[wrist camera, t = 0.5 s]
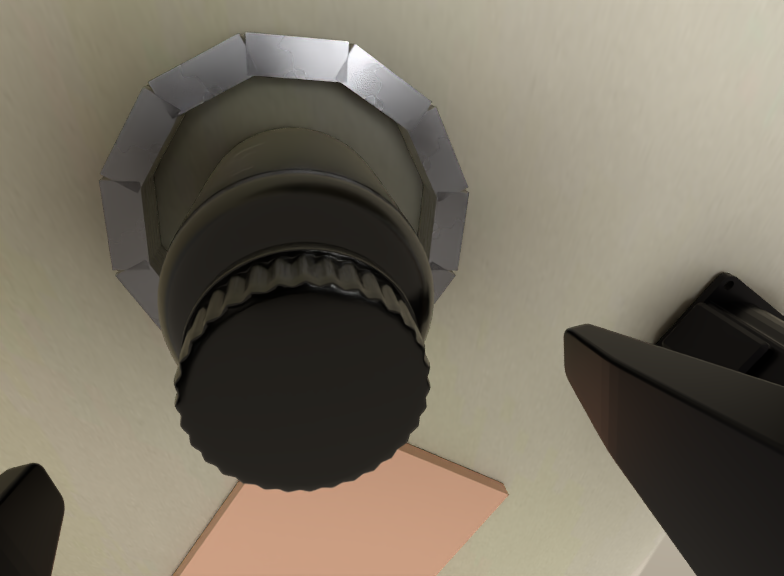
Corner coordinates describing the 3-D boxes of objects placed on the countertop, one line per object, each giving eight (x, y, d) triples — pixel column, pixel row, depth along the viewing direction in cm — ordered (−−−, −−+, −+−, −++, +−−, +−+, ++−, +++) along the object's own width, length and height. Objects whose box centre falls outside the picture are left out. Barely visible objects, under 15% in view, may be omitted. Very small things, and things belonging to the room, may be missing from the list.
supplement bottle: (416, 195, 21) (555, 356, 10) (315, 320, 23) (347, 572, 12) (270, 80, 18) (256, 140, 8) (166, 231, 20) (34, 458, 9)
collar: (509, 164, 21) (529, 175, 19) (343, 390, 24) (349, 418, 23) (223, -51, 16) (216, -62, 15) (64, 266, 20) (42, 289, 18)
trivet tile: (503, 483, 29) (508, 495, 28) (373, 629, 32) (375, 642, 32) (297, 397, 24) (298, 408, 23) (169, 580, 27) (166, 594, 27)
